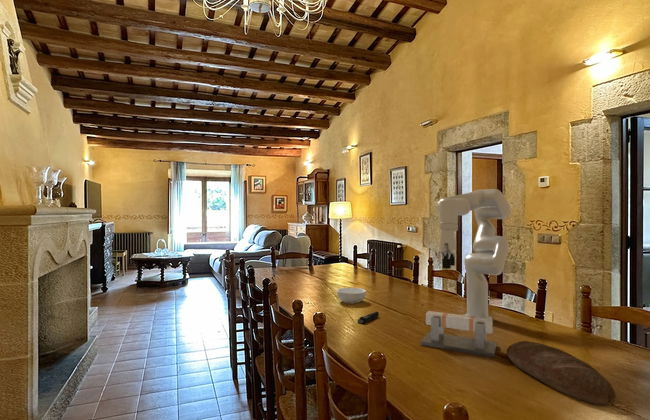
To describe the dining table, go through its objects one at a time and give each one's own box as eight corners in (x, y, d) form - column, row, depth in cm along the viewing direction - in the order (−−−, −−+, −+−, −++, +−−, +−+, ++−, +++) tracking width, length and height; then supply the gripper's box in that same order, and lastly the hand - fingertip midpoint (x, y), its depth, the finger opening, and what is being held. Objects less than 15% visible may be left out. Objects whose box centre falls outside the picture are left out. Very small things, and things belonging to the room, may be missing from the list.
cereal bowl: (367, 305, 203) (367, 293, 203) (337, 306, 203) (337, 293, 203) (364, 298, 220) (364, 287, 220) (336, 298, 220) (336, 287, 220)
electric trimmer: (380, 318, 180) (380, 311, 180) (363, 325, 168) (363, 318, 169) (374, 316, 183) (374, 310, 183) (356, 323, 171) (356, 316, 171)
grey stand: (428, 335, 153) (428, 310, 154) (496, 346, 141) (496, 318, 141) (420, 345, 142) (420, 318, 142) (494, 357, 129) (493, 328, 129)
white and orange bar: (492, 330, 138) (492, 318, 138) (491, 334, 134) (491, 321, 134) (428, 321, 149) (428, 310, 149) (425, 324, 145) (425, 313, 145)
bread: (532, 353, 134) (531, 330, 134) (633, 405, 98) (633, 373, 98) (494, 357, 131) (493, 333, 131) (584, 411, 95) (584, 379, 95)
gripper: (443, 226, 166) (443, 263, 166) (435, 227, 151) (435, 269, 151) (460, 226, 163) (461, 264, 162) (454, 228, 148) (454, 270, 147)
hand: (448, 266), depth 157 cm, fingers open, 9 cm apart
